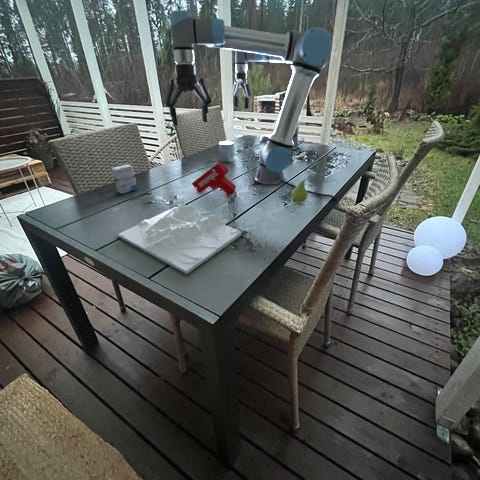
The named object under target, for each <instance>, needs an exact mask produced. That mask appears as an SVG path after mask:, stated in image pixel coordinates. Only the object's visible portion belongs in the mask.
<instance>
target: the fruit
mask: <svg viewBox="0 0 480 480" xmlns="http://www.w3.org/2000/svg"><path fill="white" fill-rule="evenodd" d="M310 177H311V175H310V174H309V175H308V176H307V177H305V179H302V180H301V181H300V182H298V184H297V185H296V188H293V190H292V191H291V198H292V200H293V201H294V202H295V203H297V204H301V203H304V202H305V201H306V200H307V198H308V196H309V195H308V194H309V193H308V192H307V189H306V184H305V183H306V180H308V179H309V178H310Z"/></svg>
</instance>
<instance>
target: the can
mask: <svg viewBox="0 0 480 480" xmlns="http://www.w3.org/2000/svg"><path fill="white" fill-rule="evenodd" d="M218 150H219V151H218V152H219V162H220V161H221V162H222V163H224V164H225V163H233V162H234V160H235V155H234V154H235V153H234V152H235V150H234V142H233V141H231V140H230V141H229V140H224V141H219V142H218Z"/></svg>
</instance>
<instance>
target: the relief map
mask: <svg viewBox="0 0 480 480" xmlns="http://www.w3.org/2000/svg"><path fill="white" fill-rule="evenodd" d="M242 235H243V231H242V230H239V229H238V228H234V227H231V226H229V225H226V224H224V223H223V222H222V221H221V220H220V219H219V218H218V216H216V215H214V214H212V215H210V216H207V217H205V216H204V215H203V214H199V213H198V212H197V211H196V209H195V208H194V207H193V206H192V205H191V204H187V205H186V204H185V202H182V204H180V205H179V206H174V207H171V208H170V209H168V210H165V211H163V212H161V213H159V214H157V215H154V216H153V217H150V218H149V219H143V220H141V221H140V222H139V223H138V224H137V225H134V226H132V227H129V228H128V229H126V230H123V231H122V232H120V233H117V236H118V238H120V239H121V240H123V241H125V242H127V243H129V244H131V245H132V246H134V247H136V248H138V249H140V250H141V251H143V252H145V253H147V254H149V255H151V256H153V257H154V258H156V259H158V260H160V261H162V262H163V263H165V264H166V265H169V266H171V267H173V268H175V269H176V270H178V271H180V272H182V273H183V274H185V275H188V274H190V273H191V272H192V271H193V270H195V269H196V268H198V267H199V266H201V265H202V264H203V263H205V262H206V261H208V260H209V259H211V258H212V257H214V256H215V255H216V254H217V253H219V252H220V251H222V250H223V249H224V248H226V247H227V246H229V245H230V244H231V243H233V242H235V241H236V240H237V239H238V238H240V237H241V236H242Z"/></svg>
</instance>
